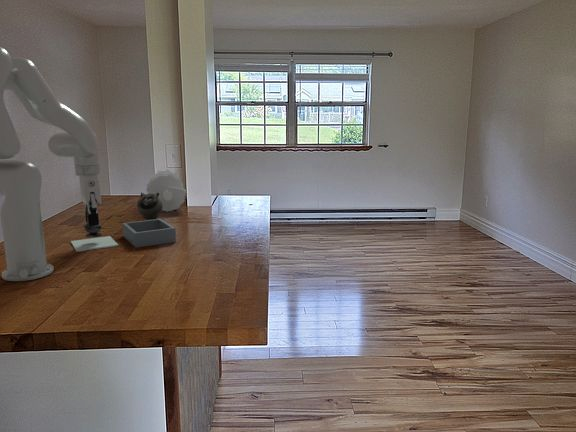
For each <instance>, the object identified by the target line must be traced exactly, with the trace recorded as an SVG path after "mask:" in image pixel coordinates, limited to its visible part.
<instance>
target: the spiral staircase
mask: <svg viewBox="0 0 576 432" xmlns="http://www.w3.org/2000/svg"><path fill="white" fill-rule="evenodd" d="M148 180H149V181H148V182H147V184H146V192H147V194H155V195H156V193H159V196H158V197H159V198H160V199H161V201H162V204H163V207H162V211H164V212H167V213H168V211H170V212H171V211H174V210H177V209H179V210H180V206H181V205H182V204H184V203H185V201H186V199H185V196H186V194H187V190H186V189H185V188H184V184H183V182H182V180H181V177H180V176H179V175H178V174H177V172H172V171H171V170H170V169H166V170H157V172H156V173H154V174H152V175H151V176H149V179H148Z"/></svg>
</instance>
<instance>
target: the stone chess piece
mask: <svg viewBox="0 0 576 432" xmlns="http://www.w3.org/2000/svg"><path fill="white" fill-rule="evenodd" d="M89 205H91V203H90V204H89ZM91 207H92V206H90V208H91ZM88 214H89V213H88V206H87V214H86V215H87V220H88ZM86 215H85V216H86ZM102 226H103V224H102V223H101V222H99V225H93V226H89V224H88V221H87V222H86V223H85V224H84V225H83V228H84V230H85V232H86V233H87V234H85V235H84V236H85V237H86V238H99V237H102V235H103V233H101V232H100V231H101V229H102Z"/></svg>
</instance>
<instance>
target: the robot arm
mask: <svg viewBox="0 0 576 432" xmlns="http://www.w3.org/2000/svg"><path fill="white" fill-rule="evenodd" d="M5 91H12V92H13V94H14V95H15V96H16V98H17V99H18V100H19V101H20V103H21V104H22V106H23V107H24V108H25V110H26V111H27V112H28V114H29V115H30V116H31V118H33V119H34V120H37V121H39V122H42V123H44V124H47V125H49V126H50V125H51V126H53V127H56V128H58V129H60V130H61V131H62V130H63V131H64V132H58V133H54V134H53V135H52V136H50V138H49V139H48V149H49V151H50V152H51V153H52V154H53V155H55V156H57V157H61V158H73V160H74V162H73V163H74V164H73V165H74V173H75V176H79V185H80V187H79V188H80V195H81V196H80V197H81V201H82V202H83V203H84V210H85V211H84V214H85V222H86V223H87V221H88V224H89V226H93V225H99V223H100V220H99V213H98V205H101V204H102V194H101V187H100V181H99V175H101V170H100V169H101V167H100V158H99V143H98V137H97V134H96V133H94V131H93V130H92V128H91V126H90V124H88V122H87V120H85V119H84V118H83V117H82V116H80V115H79V114H78V113H76V112H75V111H74V110H72V109H71V108H70V107H68V106H66V105H65V104H63V103H61V102H60V101H59V100H58V98H57V97H56V95H55V93H54V92H53V91H52V89H51V88H50V86H49V84H48V83H47V82H46V80H45V78H44V77H43V75H42V74H41V72H40V71H39V69H38V67H37V66H36V65H35V64H34V62H33V61H32V60H30V59H28V58H25V57H20V56H11V55H10V53H9V52H8V50H6V49H5V48H3V47H1V46H0V196H4V201H3V202H2V205H1V206H0V222H1V223H0V224H1V232H2V237H3V238H2V239H3V245H4V253H5V261H6V267H7V268H6V269H5V270H3V271H2V272H1V278H2V280H4V281H8V282H25V281H34V280H38V279H41V278H44V277H47V276H48V275H51V274H52V273H53V272H54V265H52V264H51V263H48V261H47V255H46V246H45V235H44V227H43V226H44V225H43V219H42V211H41V189H42V173H41V171H40V169H39V168H38V167H37V166H36V165H35V164H33V163H31V162H29V161H25V160H20V159H18V160H17V159H12V158H14V157H16V156H17V155H18V154H19V153H20V151H21V142H20V138H19V136H18V133H17V131H16V129H15V126H14V124H13V121H12V119H11V117H10V114H9V112H8V110H7V106H6V103H5V99H4V92H5ZM90 203H91V205H89V204H90ZM97 204H98V205H97ZM87 206H88V213H89V214H88V220H87V215H86V214H87ZM90 206H92V207H91V208H90Z"/></svg>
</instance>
